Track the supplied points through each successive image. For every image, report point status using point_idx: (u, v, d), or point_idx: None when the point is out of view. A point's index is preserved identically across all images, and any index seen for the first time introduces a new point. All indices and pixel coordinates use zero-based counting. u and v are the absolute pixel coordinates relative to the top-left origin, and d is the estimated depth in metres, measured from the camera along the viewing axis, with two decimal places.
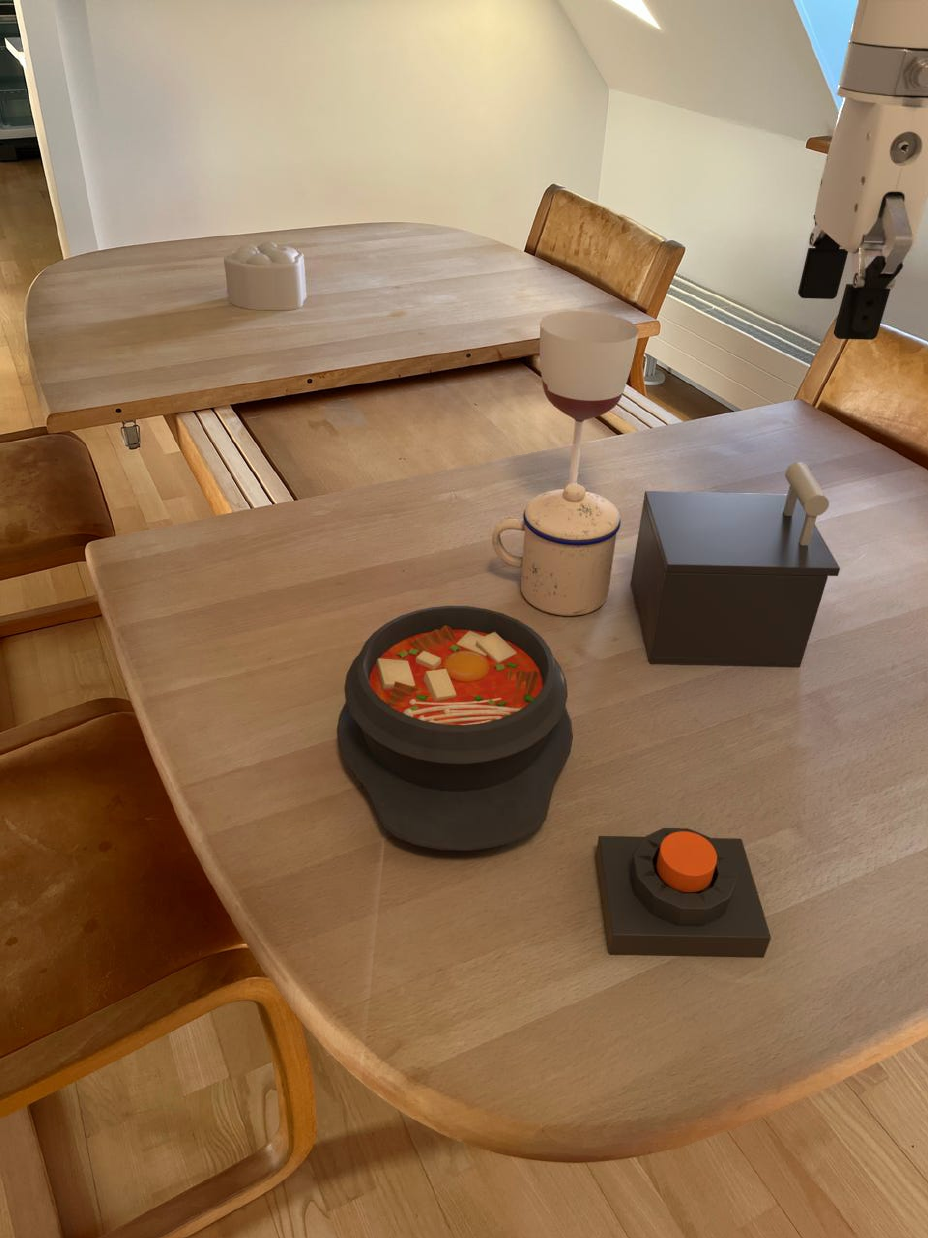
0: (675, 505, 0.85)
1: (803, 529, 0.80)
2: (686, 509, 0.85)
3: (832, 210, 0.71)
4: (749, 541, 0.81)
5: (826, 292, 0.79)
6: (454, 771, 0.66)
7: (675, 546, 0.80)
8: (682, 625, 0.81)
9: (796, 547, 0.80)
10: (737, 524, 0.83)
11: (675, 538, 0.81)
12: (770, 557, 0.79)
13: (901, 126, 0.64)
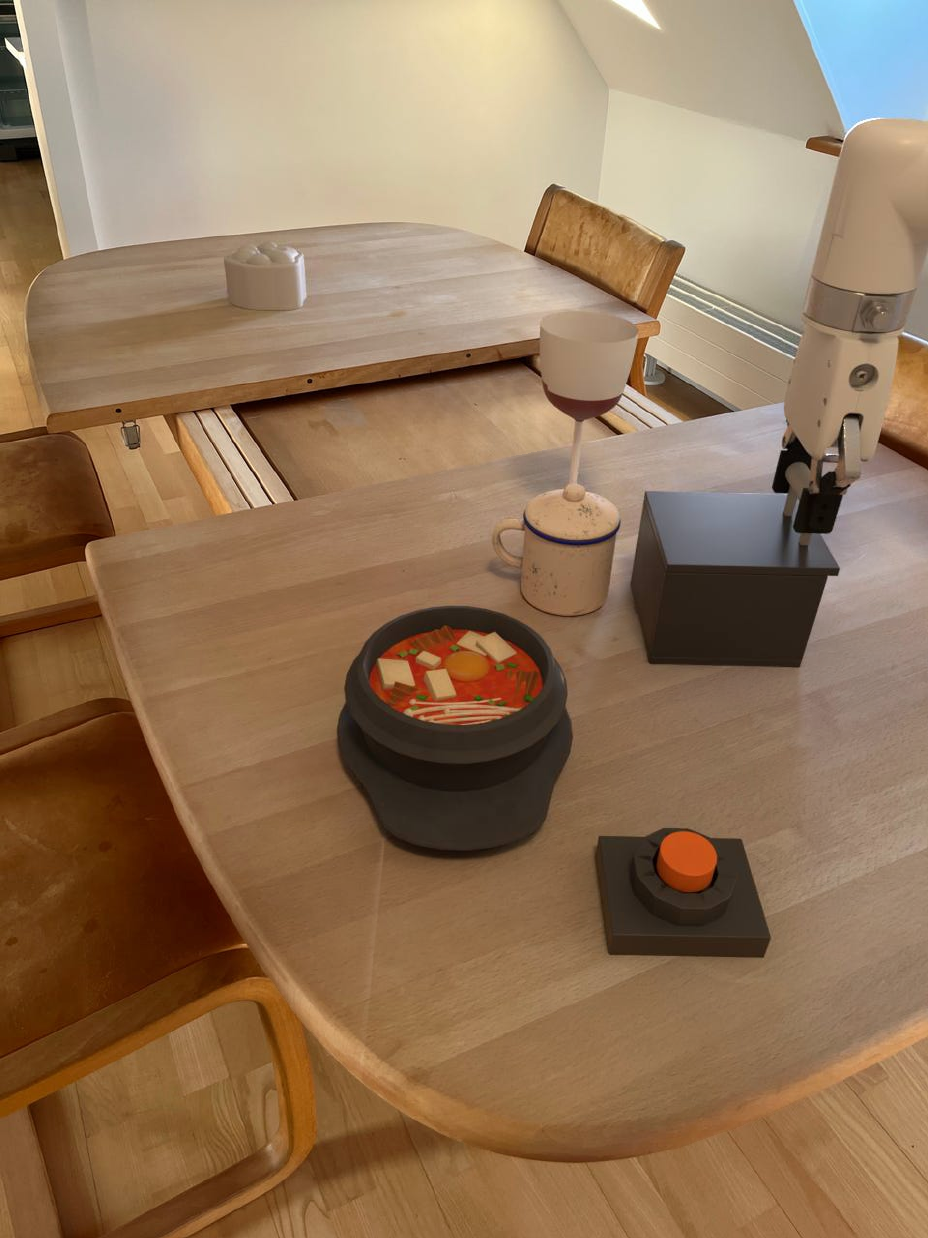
0: (675, 505, 0.85)
1: None
2: (686, 509, 0.85)
3: (798, 415, 0.76)
4: (749, 541, 0.81)
5: None
6: (454, 771, 0.66)
7: (675, 546, 0.80)
8: (682, 625, 0.81)
9: (796, 547, 0.80)
10: (737, 524, 0.83)
11: (675, 538, 0.81)
12: (770, 557, 0.79)
13: (859, 359, 0.69)
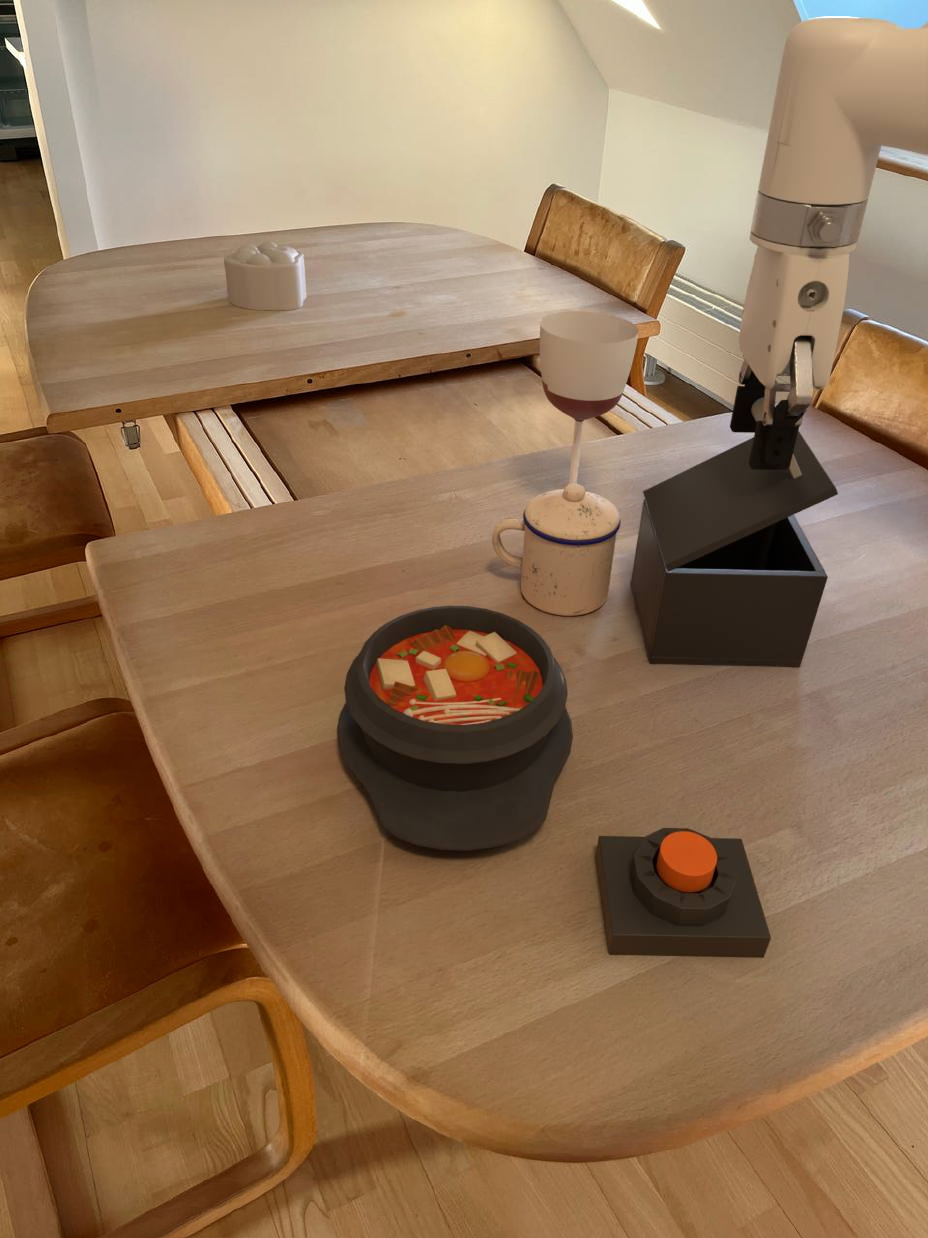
0: (671, 493, 0.85)
1: None
2: (681, 492, 0.84)
3: (751, 343, 0.73)
4: (742, 499, 0.78)
5: None
6: (454, 771, 0.66)
7: (671, 540, 0.79)
8: (682, 625, 0.81)
9: (789, 483, 0.76)
10: (730, 485, 0.81)
11: (671, 531, 0.80)
12: (763, 508, 0.76)
13: (807, 276, 0.65)
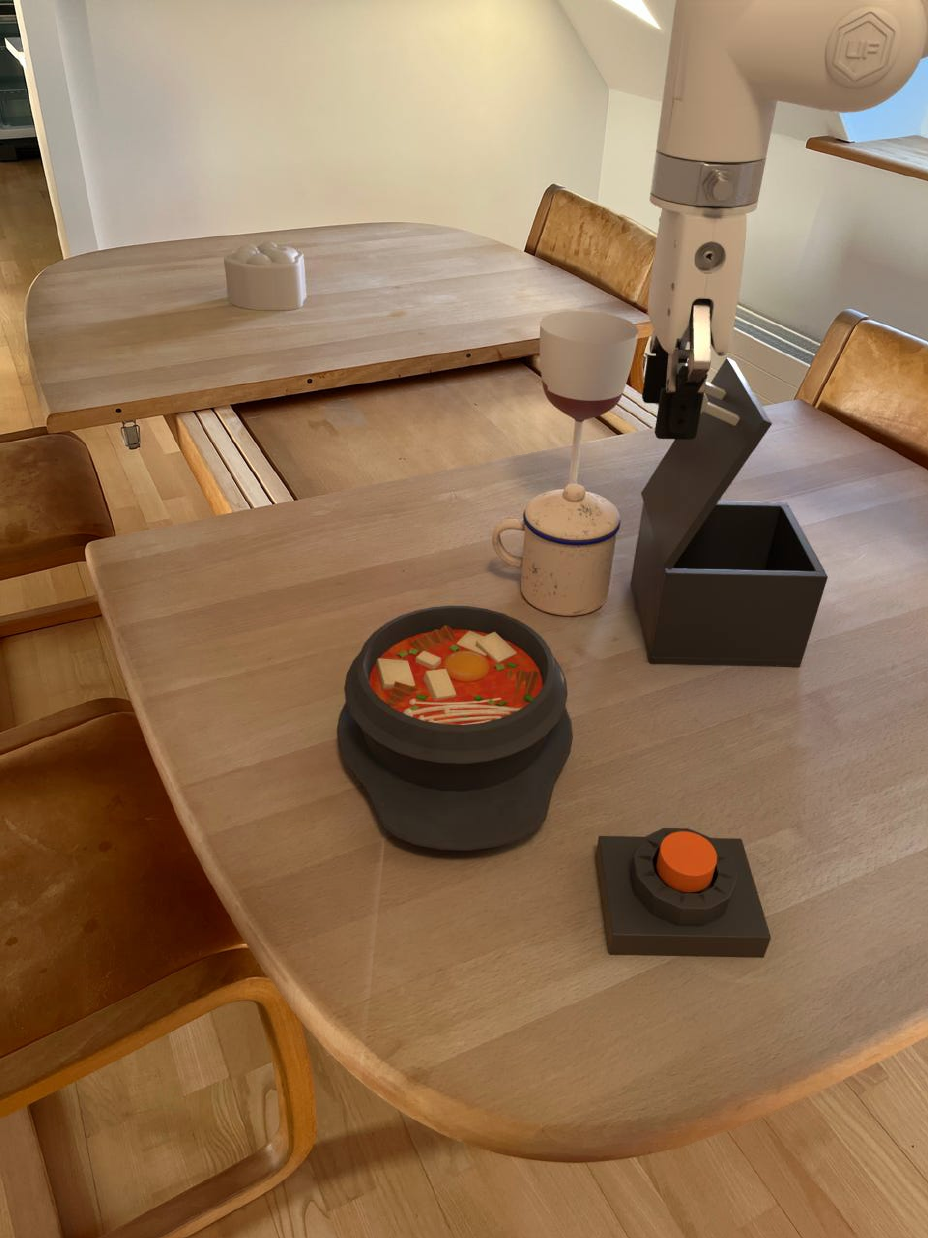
0: (658, 485, 0.84)
1: None
2: (664, 481, 0.83)
3: (655, 309, 0.71)
4: (704, 468, 0.77)
5: None
6: (454, 771, 0.66)
7: (664, 537, 0.79)
8: (682, 625, 0.81)
9: (733, 432, 0.74)
10: (694, 455, 0.79)
11: (663, 527, 0.80)
12: (718, 470, 0.74)
13: (703, 236, 0.64)
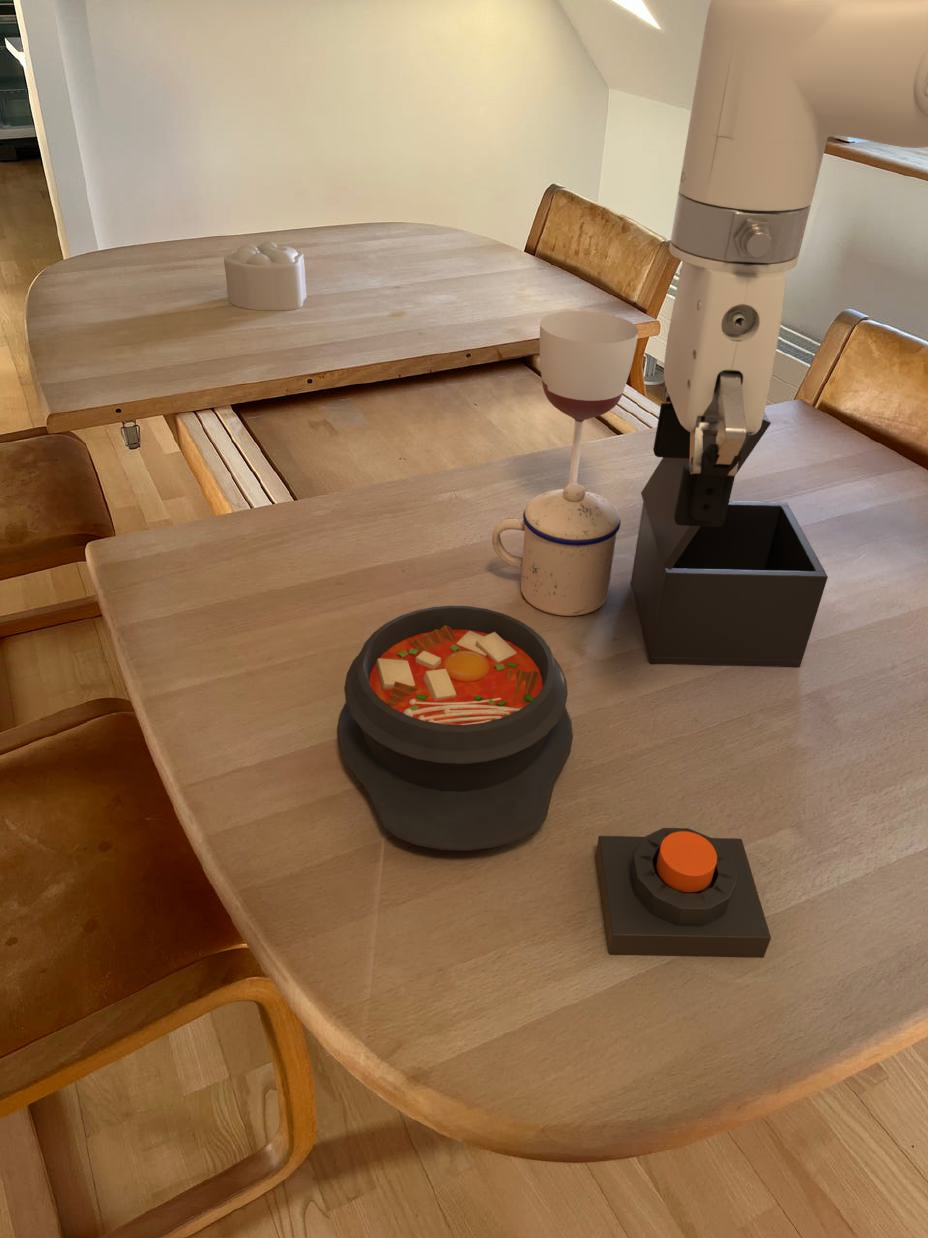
0: (658, 485, 0.84)
1: None
2: (664, 481, 0.83)
3: (672, 376, 0.60)
4: None
5: (684, 452, 0.68)
6: (454, 771, 0.66)
7: (664, 537, 0.79)
8: (682, 625, 0.81)
9: None
10: None
11: (663, 527, 0.80)
12: None
13: (733, 298, 0.53)
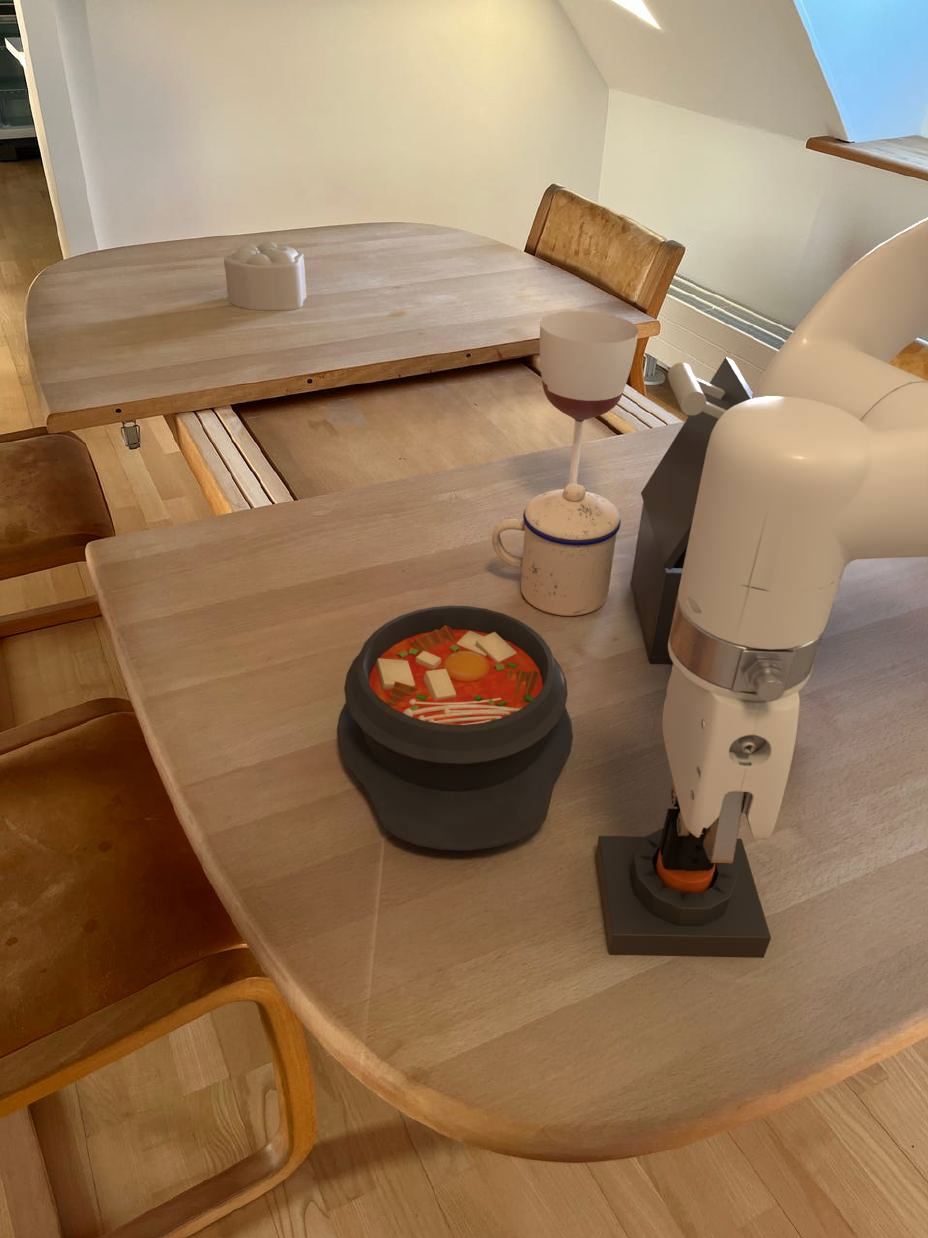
0: (658, 485, 0.84)
1: None
2: (664, 481, 0.83)
3: (673, 757, 0.55)
4: None
5: None
6: (454, 771, 0.66)
7: (664, 537, 0.79)
8: None
9: None
10: (694, 455, 0.79)
11: (663, 527, 0.80)
12: None
13: (742, 729, 0.47)
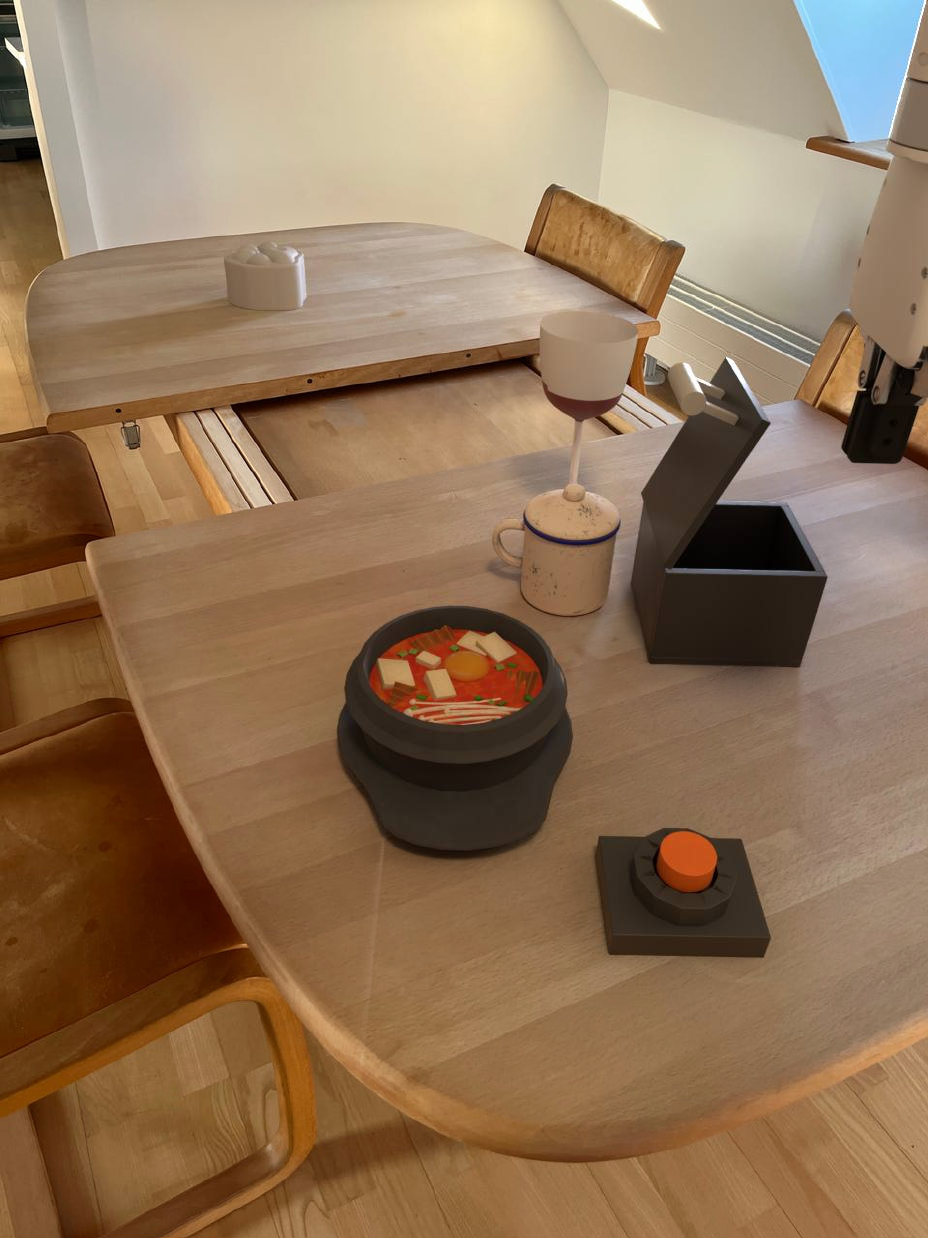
0: (658, 485, 0.84)
1: None
2: (664, 481, 0.83)
3: (876, 305, 0.52)
4: (703, 468, 0.77)
5: None
6: (454, 771, 0.66)
7: (664, 537, 0.79)
8: (682, 625, 0.81)
9: (732, 432, 0.74)
10: (694, 455, 0.79)
11: (663, 527, 0.80)
12: (718, 469, 0.74)
13: None
